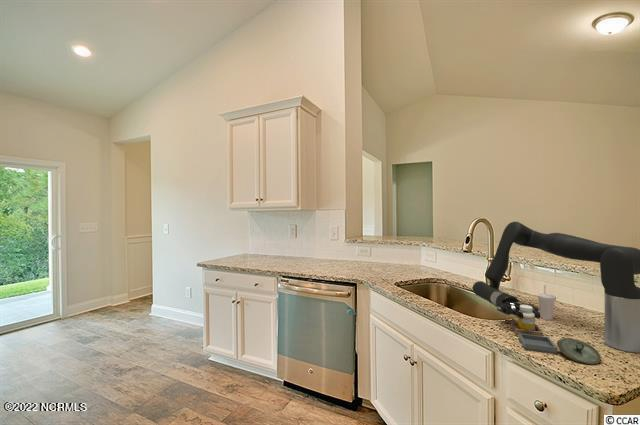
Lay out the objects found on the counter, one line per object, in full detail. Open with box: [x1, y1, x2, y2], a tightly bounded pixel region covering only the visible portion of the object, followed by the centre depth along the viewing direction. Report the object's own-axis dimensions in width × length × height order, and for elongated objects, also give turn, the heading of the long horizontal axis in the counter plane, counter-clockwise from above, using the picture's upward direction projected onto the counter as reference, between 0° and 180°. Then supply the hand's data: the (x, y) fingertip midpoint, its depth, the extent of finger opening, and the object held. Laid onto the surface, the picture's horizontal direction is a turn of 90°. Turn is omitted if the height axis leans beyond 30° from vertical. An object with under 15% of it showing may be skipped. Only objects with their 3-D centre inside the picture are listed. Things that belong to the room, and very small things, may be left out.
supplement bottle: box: [517, 304, 536, 331], centre depth 112 cm, size 5×5×10 cm
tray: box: [518, 333, 559, 355], centre depth 101 cm, size 9×9×2 cm
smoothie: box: [536, 284, 557, 321], centre depth 125 cm, size 6×6×14 cm
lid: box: [556, 337, 602, 366], centre depth 93 cm, size 11×10×5 cm
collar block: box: [510, 321, 544, 336], centre depth 112 cm, size 8×8×2 cm
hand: (530, 316), depth 109 cm, fingers closed on supplement bottle, 5 cm apart
